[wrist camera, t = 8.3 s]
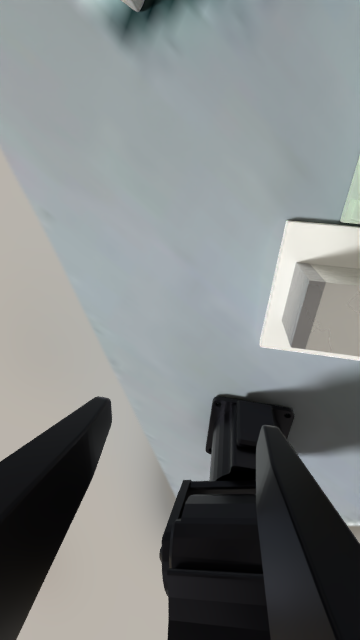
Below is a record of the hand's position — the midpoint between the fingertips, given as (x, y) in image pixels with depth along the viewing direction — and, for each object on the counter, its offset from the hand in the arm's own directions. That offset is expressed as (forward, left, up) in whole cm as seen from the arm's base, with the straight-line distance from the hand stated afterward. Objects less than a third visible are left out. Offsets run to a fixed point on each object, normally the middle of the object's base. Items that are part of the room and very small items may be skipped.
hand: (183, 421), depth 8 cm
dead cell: (0, -8, -12) cm, 15 cm away
